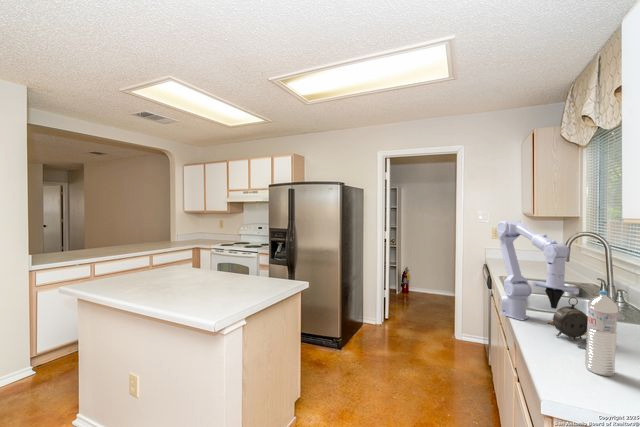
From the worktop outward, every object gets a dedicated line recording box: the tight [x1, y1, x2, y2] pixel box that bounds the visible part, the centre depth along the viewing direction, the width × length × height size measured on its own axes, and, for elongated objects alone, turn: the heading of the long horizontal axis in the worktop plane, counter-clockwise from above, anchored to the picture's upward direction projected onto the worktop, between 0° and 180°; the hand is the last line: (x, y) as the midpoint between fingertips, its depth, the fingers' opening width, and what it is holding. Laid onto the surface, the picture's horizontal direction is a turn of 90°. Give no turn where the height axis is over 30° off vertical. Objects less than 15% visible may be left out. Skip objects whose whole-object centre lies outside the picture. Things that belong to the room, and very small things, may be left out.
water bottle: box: [584, 290, 619, 377], centre depth 95 cm, size 7×7×25 cm
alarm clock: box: [552, 296, 588, 342], centre depth 118 cm, size 11×5×16 cm, turn 84°
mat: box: [577, 337, 586, 351], centre depth 113 cm, size 8×14×1 cm, turn 128°
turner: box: [547, 320, 587, 336], centre depth 129 cm, size 14×4×1 cm, turn 38°
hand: (554, 307), depth 123 cm, fingers closed
